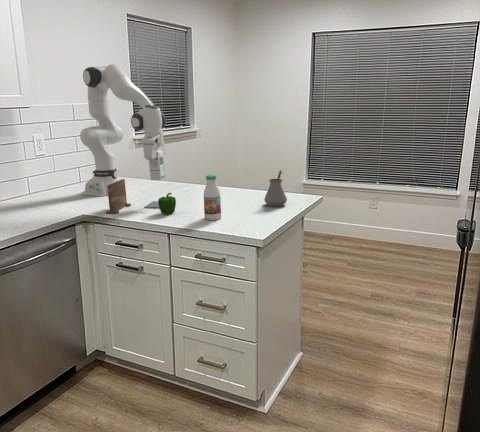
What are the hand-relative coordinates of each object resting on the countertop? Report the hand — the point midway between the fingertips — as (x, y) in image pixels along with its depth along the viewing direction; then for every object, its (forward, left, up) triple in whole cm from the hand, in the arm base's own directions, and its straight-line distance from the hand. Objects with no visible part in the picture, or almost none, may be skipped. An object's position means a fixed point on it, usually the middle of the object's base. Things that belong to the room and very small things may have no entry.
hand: (156, 166), depth 229 cm
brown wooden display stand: (-18, -10, -20) cm, 29 cm away
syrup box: (0, 0, -7) cm, 7 cm away
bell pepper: (+10, -15, -21) cm, 28 cm away
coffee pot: (+60, +11, -21) cm, 64 cm away
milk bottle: (+34, -21, -21) cm, 45 cm away
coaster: (0, 0, -20) cm, 20 cm away
